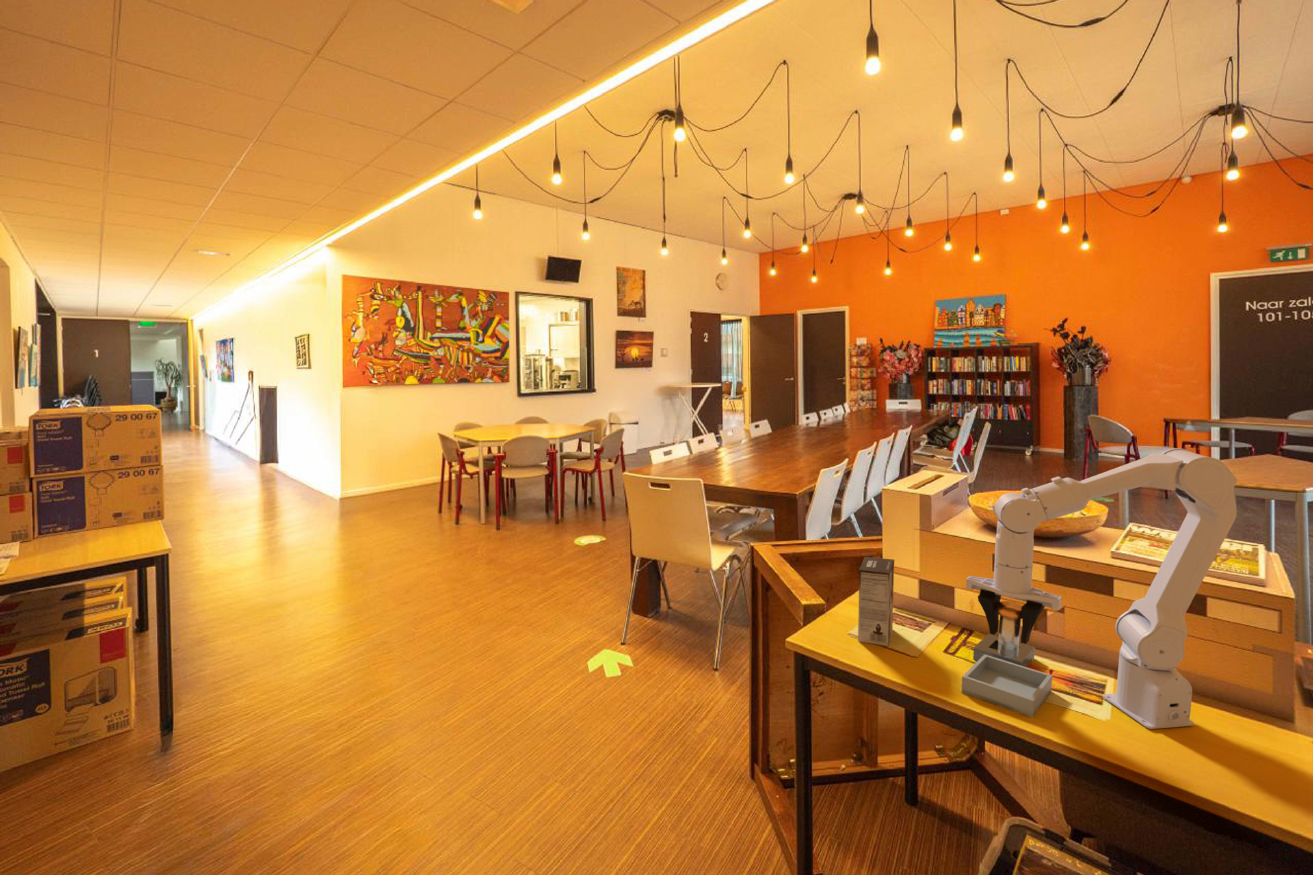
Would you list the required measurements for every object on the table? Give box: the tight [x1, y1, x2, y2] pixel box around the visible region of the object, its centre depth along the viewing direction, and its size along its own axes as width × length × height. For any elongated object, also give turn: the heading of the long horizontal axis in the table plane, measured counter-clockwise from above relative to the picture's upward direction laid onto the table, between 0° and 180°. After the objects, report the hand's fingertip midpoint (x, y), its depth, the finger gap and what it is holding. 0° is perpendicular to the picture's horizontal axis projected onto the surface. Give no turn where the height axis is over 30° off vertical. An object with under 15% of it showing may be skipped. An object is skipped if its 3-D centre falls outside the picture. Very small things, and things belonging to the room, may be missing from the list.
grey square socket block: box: [972, 633, 1036, 668], centre depth 120 cm, size 8×8×2 cm
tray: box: [961, 654, 1053, 719], centre depth 109 cm, size 11×11×3 cm
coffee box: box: [857, 556, 895, 647], centre depth 131 cm, size 9×6×16 cm
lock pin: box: [996, 600, 1024, 658], centre depth 108 cm, size 5×5×9 cm
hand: (1009, 636), depth 108 cm, fingers closed on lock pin, 4 cm apart
